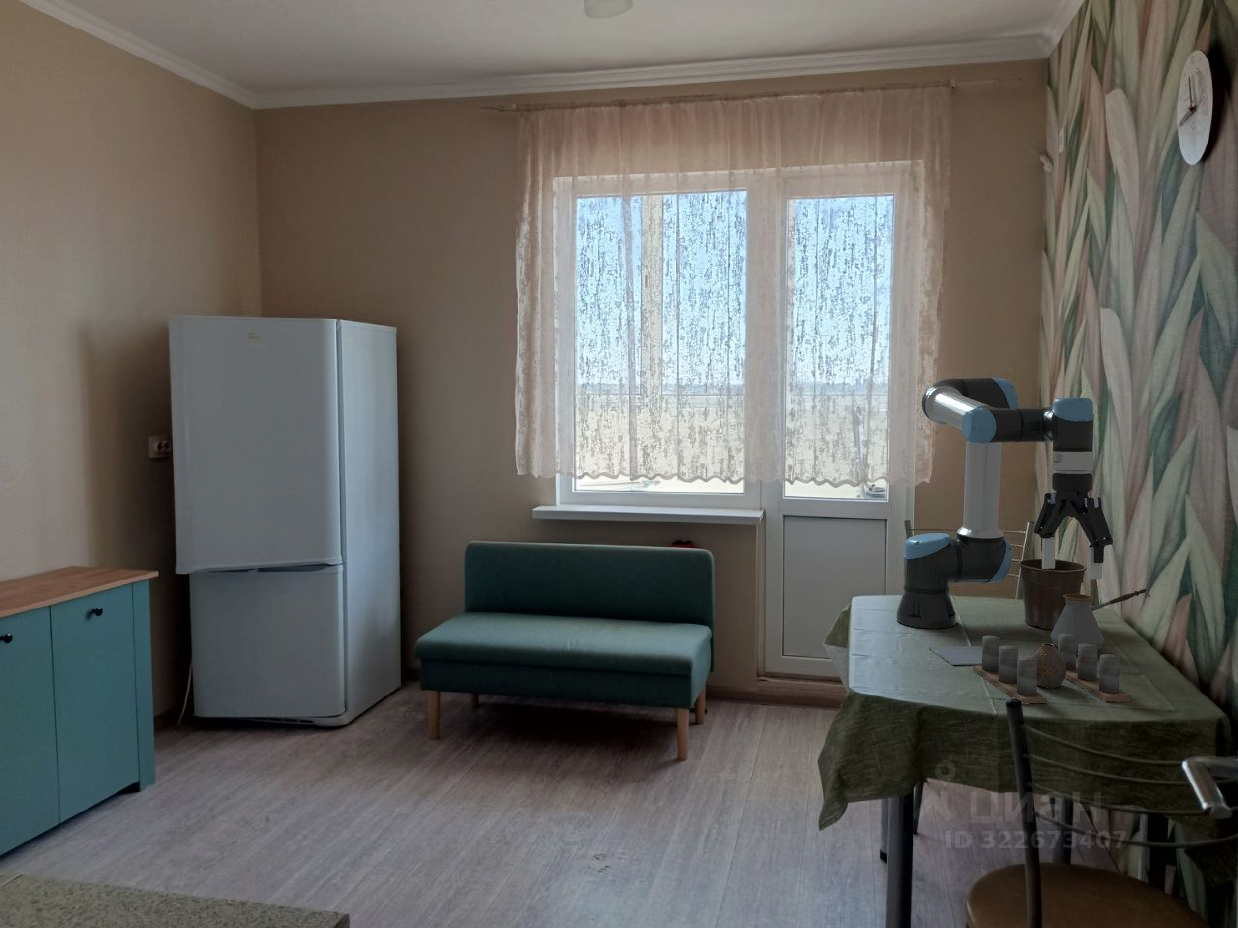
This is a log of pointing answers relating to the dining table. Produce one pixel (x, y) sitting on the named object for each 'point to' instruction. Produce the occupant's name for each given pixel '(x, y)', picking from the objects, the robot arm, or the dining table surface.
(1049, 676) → the vase
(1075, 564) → the plant pot
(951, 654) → the mat
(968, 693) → the dining table surface
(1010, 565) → the robot arm
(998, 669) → the spacer rack
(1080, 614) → the coffee pot
